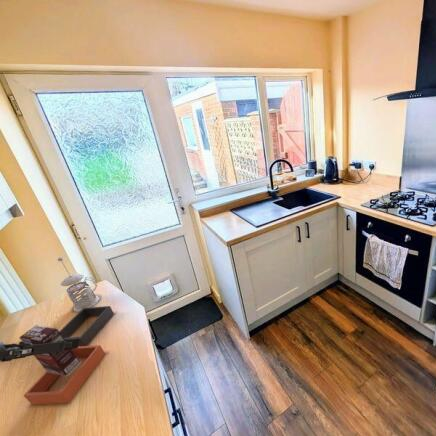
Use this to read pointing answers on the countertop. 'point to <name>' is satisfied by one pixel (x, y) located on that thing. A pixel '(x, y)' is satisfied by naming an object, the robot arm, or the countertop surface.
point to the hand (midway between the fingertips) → (62, 344)
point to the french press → (86, 299)
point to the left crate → (66, 394)
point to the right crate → (93, 329)
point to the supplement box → (52, 361)
